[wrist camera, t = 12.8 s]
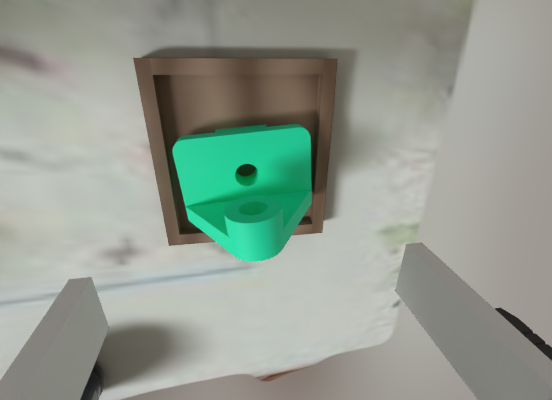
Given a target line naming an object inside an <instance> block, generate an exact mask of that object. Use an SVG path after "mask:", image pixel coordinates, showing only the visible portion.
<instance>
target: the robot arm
mask: <svg viewBox="0 0 552 400" xmlns="http://www.w3.org/2000/svg"><path fill="white" fill-rule="evenodd" d="M395 291H396V292H397V294H398V295H399V296H400V298H401V299H402V300H403V302H404V303H405V304H406V306H407V307H408V308H409V309H410V311H411V312H412V314H413V315H414V316H415V317H416V319H417V320H418V321H419V323H420V324H421V325H422V327H423V328H424V329H425V331H426V332H427V333H428V335H429V336H430V337H431V339H432V340H433V341H434V343H435V344H436V345H437V347H438V348H439V349H440V351H441V352H442V353H443V354H444V356H445V357H446V358H447V360H448V361H449V362H450V364H451V365H452V366H453V368H454V369H455V370H456V372H457V373H458V374H459V376H460V377H461V378H462V380H463V381H464V382H465V384H466V385H467V386H468V388H469V389H470V390H471V391H472V393H473V394H474V396H475V397H476V398H477V400H552V348H551V347H550V346H549V345H546V344H545V341H544V340H542V339H541V338H540V337H539V336H538V335H537V334H534V333H533V332H532V330H531V329H530V328H529V327H527V326H526V325H525V324H524V323H523V322H522V321H521V320H519V319H518V318H517V317H515V316H513V315H512V314H510V313H508V312H507V311H505V310H503V309H501V308H495V309H494V308H493V307H492V306H491V305H490V304H489V303H488V302H486V301H485V300H484V299H483V298H482V297H481V296H480V295H479V294H478V293H476V292H475V291H474V290H473V289H472V288H471V287H470V286H469V285H468V284H467V283H466V282H465V281H463V280H462V279H461V278H460V277H459V276H458V275H457V274H456V273H455V272H454V271H452V270H451V269H450V268H449V267H448V266H447V265H446V264H445V263H444V262H442V261H441V260H440V259H439V258H438V257H437V256H436V255H435V254H434V253H433V252H432V251H431V250H429V249H428V248H427V247H426V246H425V245H424V244H423V243H413V244H406V248H405V252H404V256H403V260H402V265H401V269H400V273H399V277H398V281H397V285H396V289H395ZM108 330H109V326H108V323H107V320H106V317H105V314H104V312H103V309H102V306H101V303H100V300H99V297H98V295H97V292H96V289H95V286H94V283H93V280H92V278H91V277H88V278H78V279H69V281H68V282H67V284H66V285H65V286H64V288H63V289H62V291H61V292H60V294H59V295H58V297H57V298H56V300H55V301H54V303H53V304H52V306H51V307H50V309H49V310H48V311H47V313H46V314H45V316H44V317H43V319H42V320H41V322H40V323H39V325H38V326H37V328H36V329H35V331H34V332H33V333H32V335H31V336H30V338H29V339H28V341H27V342H26V344H25V345H24V347H23V348H22V350H21V351H20V353H19V354H18V356H17V357H16V358H15V360H14V361H13V363H12V364H11V366H10V367H9V369H8V370H7V372H6V373H5V375H4V376H3V378H2V379H1V381H0V400H80V399H81V396H82V394H83V391H84V389H85V386H86V384H87V381H88V379H89V377H90V374H91V372H92V369H93V367H94V364H95V362H96V359H97V357H98V355H99V352H100V350H101V347H102V345H103V342H104V340H105V337H106V335H107V333H108Z"/></svg>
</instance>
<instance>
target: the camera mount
mask: <svg viewBox="0 0 552 400" xmlns="http://www.w3.org/2000/svg"><path fill="white" fill-rule="evenodd" d="M172 152H173V157H174V161H175V165H176V170H177V174H178V178H179V182H180V186H181V190H182V195H183V199H184V203H185V207H186V211H187V215H188V220H189V221H190V222H191V223H193V224H194V225H195V226H196V227H198V228H199V229H200V230H202V231H203V232H204V233H205V234H207V235H208V236H209V237H211V238H212V239H213V240H214V241H216V242H217V243H218V244H220V245H221V246H222V247H223V248H225V249H226V250H227V251H229V252H230V253H231V254H232V255H234V256H235V257H237V258H239V259H241V260H244V261H262V260H266V259H269V258H272V257H274V256H275V255H277V254H278V253H279V252H280V251H281V250H282V249H283V247H284V246H285V244H286V243H287V241H288V240H289V238H290V237H291V235H292V233H293V232H294V230H295V229H296V227H297V226H298V224H299V222H300V221H301V219H302V218H303V216H304V215H305V213H306V212H307V210H308V208H309V207H310V205H311V204H312V193H311V137H310V134H309V132H308V131H307V130H306V129H305V128H304V127H303V126H301V125H299V124H289V125H280V126H271V127H267V126H266V124H265V125H256V126H246V127H237V128H227V129H218V130H215V133H205V134H196V135H186V136H182V137H180V138H179V139H178V140H177V141H176V143H175V145H174V147H173V150H172ZM243 164H251V165H254V166H255V167H256V169H255V171H254V172H253V173H252V174H251V175H249V176H241V175H239V174H238V173H237V172H236V170H237V168H238V167H239V166H241V165H243Z"/></svg>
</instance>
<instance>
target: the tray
mask: <svg viewBox="0 0 552 400" xmlns="http://www.w3.org/2000/svg"><path fill="white" fill-rule="evenodd" d="M133 59H134V64H135V69H136V74H137V80H138V85H139V90H140V96H141V101H142V106H143V111H144V117H145V122H146V127H147V132H148V138H149V143H150V148H151V153H152V159H153V164H154V169H155V174H156V180H157V185H158V190H159V195H160V201H161V206H162V211H163V216H164V222H165V227H166V232H167V237H168V243H169V246H171V245H183V244H195V243H206V242H216V241H214V240H213V239H212V238H211V237H209V236H208V235H207V234H205V233H204V232H203V231H202V230H200V229H199V228H198V227H196V226H195V225H194V224H193V223H191V222H190V221H189V220H188V215H187V211H186V207H185V203H184V199H183V195H182V190H181V186H180V182H179V178H178V174H177V170H176V165H175V161H174V157H173V152H172V150H173V147H174V145H175V143H176V141H177V140H178V139H179V138H180V137H182V136H186V135H196V134H205V133H215V130H218V129H227V128H237V127H246V126H256V125H265V124H266V126H267V127H271V126H280V125H289V124H299V125H301V126H303V127H304V128H305V129H306V130H307V131H308V132H309V134H310V137H311V193H312V204H311V205H310V207H309V208H308V210H307V212H306V213H305V215H304V216H303V218H302V219H301V221H300V222H299V224H298V226H297V227H296V229H295V230H294V232H293V233H292V235H301V234H313V233H322V230H323V218H324V207H325V196H326V184H327V173H328V162H329V150H330V139H331V128H332V116H333V105H334V94H335V82H336V71H337V60H338V59H247V58H133ZM255 169H256V167H255V166H254V165H251V164H243V165H241V166H239V167H238V168H237V170H236V172H237V173H238V174H239V175H241V176H249V175H251V174H252V173H253V172H254V171H255Z"/></svg>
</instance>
